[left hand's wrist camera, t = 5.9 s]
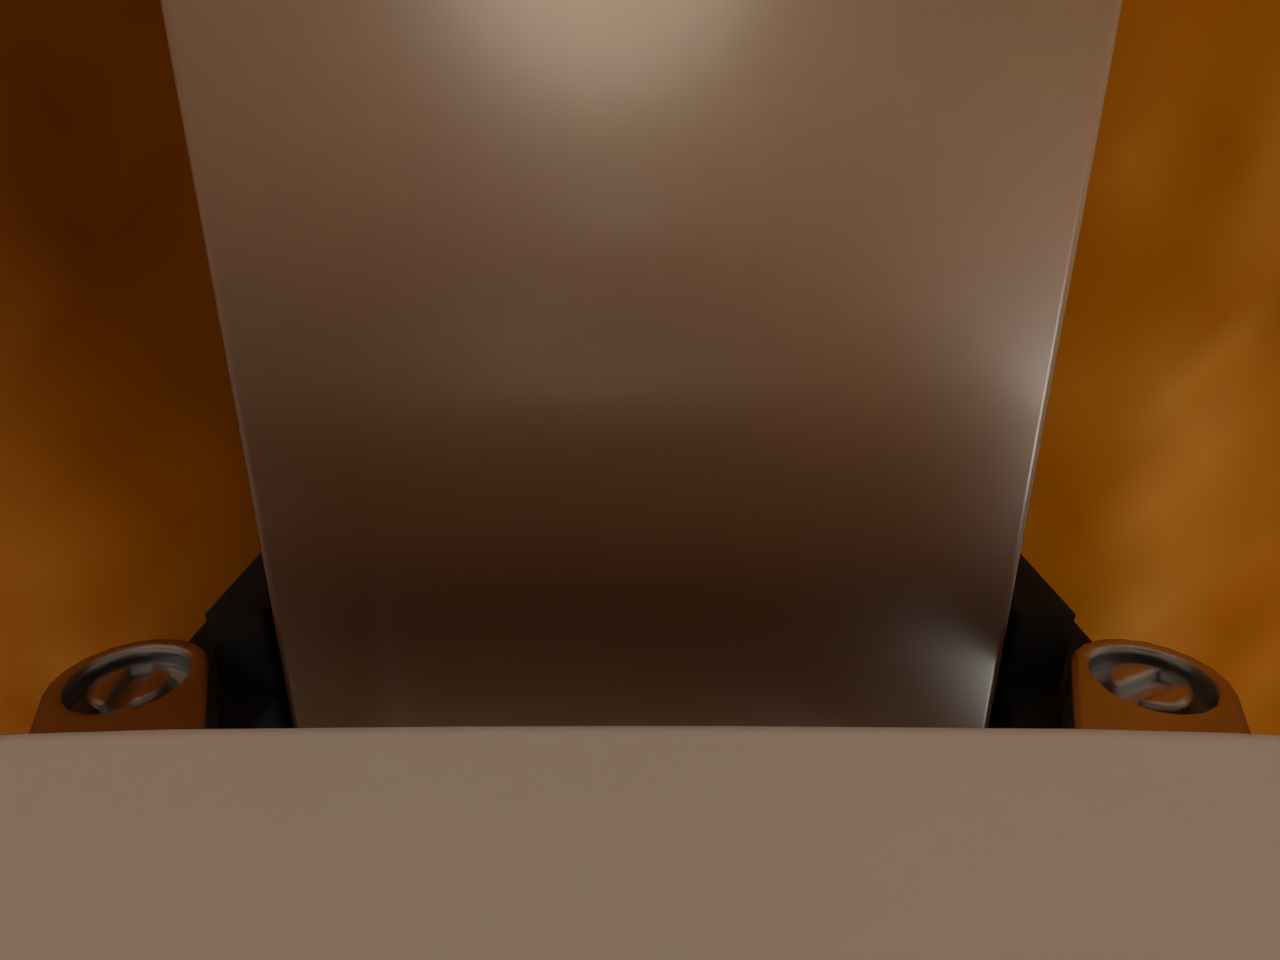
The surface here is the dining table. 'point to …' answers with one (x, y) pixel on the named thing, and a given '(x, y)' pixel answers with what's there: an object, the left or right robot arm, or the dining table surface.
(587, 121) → the beam
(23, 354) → the dining table surface
